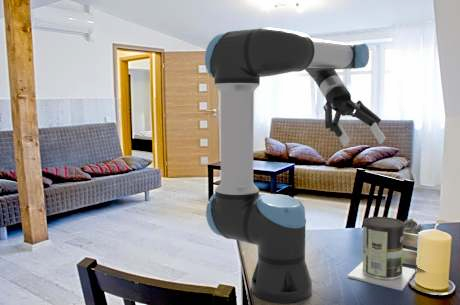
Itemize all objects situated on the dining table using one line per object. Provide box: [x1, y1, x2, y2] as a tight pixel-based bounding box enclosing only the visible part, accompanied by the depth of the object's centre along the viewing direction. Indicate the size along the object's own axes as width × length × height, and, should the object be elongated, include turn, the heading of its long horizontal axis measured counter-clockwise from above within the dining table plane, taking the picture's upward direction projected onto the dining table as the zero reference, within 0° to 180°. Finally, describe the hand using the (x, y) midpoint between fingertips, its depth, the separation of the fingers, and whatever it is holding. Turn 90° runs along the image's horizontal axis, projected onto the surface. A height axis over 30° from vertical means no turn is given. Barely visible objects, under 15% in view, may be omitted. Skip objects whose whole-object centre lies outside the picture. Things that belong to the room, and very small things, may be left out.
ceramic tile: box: [347, 261, 416, 292], centre depth 115 cm, size 14×14×1 cm
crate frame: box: [402, 232, 418, 267], centre depth 131 cm, size 16×16×4 cm
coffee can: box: [362, 216, 405, 280], centre depth 114 cm, size 10×10×14 cm
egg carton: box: [403, 218, 426, 235], centre depth 149 cm, size 11×8×4 cm
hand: (365, 142), depth 130 cm, fingers open, 13 cm apart
